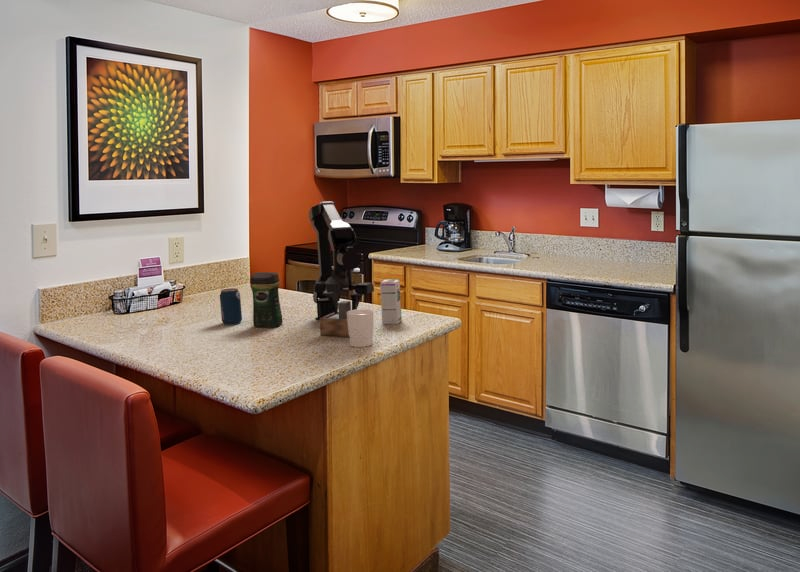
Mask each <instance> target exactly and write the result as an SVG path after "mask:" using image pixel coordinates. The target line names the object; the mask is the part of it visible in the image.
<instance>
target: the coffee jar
mask: <svg viewBox="0 0 800 572" xmlns="http://www.w3.org/2000/svg"><path fill="white" fill-rule="evenodd" d="M280 283H281V282H280V278H279V274H278V272H271V271H264V272H263V271H262V272H261V271H260V272H255V273H252V274H251V275H250V279H249V287H250V289H251V291H252V303H253V304H252V309H253V310H252V311H253V312H252V323H253V324H252V325H253V326H254V327H256V328H274V327H279V326H281V325H282V324H283V315H282V309H281V302H280V295H279V287H280Z"/></svg>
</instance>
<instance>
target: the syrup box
mask: <svg viewBox="0 0 800 572" xmlns="http://www.w3.org/2000/svg"><path fill="white" fill-rule="evenodd" d="M379 285H380V288H379V289H380V304H381V305H380V308H381V324H383V325H384V324H385V325H398V324H399V323H400V322H401V321H402V301H401V284H400V279H396V278H395V279H393V278H391V279H383V280H382V281H381V282H380V283H379Z"/></svg>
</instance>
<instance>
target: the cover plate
mask: <svg viewBox="0 0 800 572" xmlns="http://www.w3.org/2000/svg"><path fill="white" fill-rule="evenodd" d="M350 310H352V300H341V301H338V312H339V314H336V315H334V316H331V317H329V318H337V319H347V312H348V311H350Z"/></svg>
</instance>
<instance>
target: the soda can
mask: <svg viewBox="0 0 800 572" xmlns="http://www.w3.org/2000/svg"><path fill="white" fill-rule="evenodd" d="M238 289H239V288H234V287H233V288H231V287H230V288H223V289H221V290H220V291H221V292H220V294H219V301H220V302H219V305H220V316H221V322H222V323H223V324H224V325H225V326H234V325H238V324H240V323H241V322H242V321H243V316H242V315H243V314H242V303H241V302H242V301H241V300H242V299H241V293H240V291H239V290H238Z"/></svg>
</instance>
